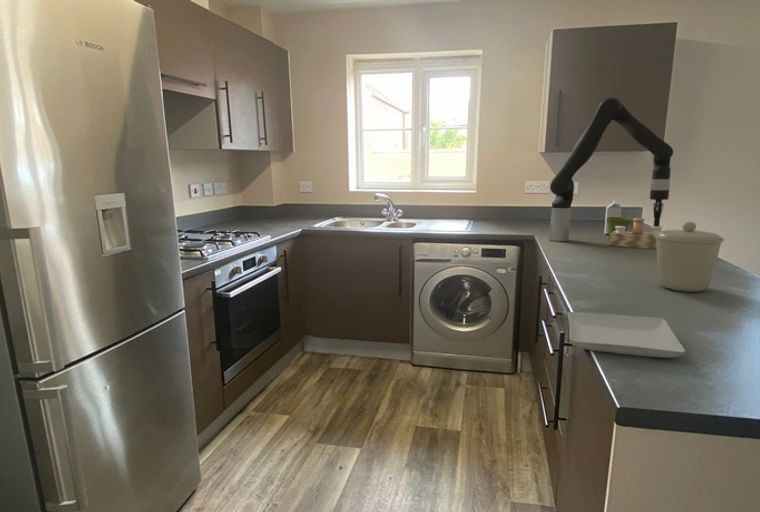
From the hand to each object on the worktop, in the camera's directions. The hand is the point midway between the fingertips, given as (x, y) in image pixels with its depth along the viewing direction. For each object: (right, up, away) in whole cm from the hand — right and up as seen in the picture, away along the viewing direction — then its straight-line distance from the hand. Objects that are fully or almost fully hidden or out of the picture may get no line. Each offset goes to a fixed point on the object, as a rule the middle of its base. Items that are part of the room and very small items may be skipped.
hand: (656, 226), depth 215 cm
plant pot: (-5, -5, +27) cm, 28 cm away
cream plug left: (-12, -8, +10) cm, 18 cm away
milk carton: (+1, -2, +44) cm, 44 cm away
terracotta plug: (-6, -4, +5) cm, 9 cm away
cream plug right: (0, -8, +2) cm, 8 cm away
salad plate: (-76, -34, -112) cm, 140 cm away
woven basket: (-6, -9, +6) cm, 13 cm away
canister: (-34, -24, -70) cm, 82 cm away
